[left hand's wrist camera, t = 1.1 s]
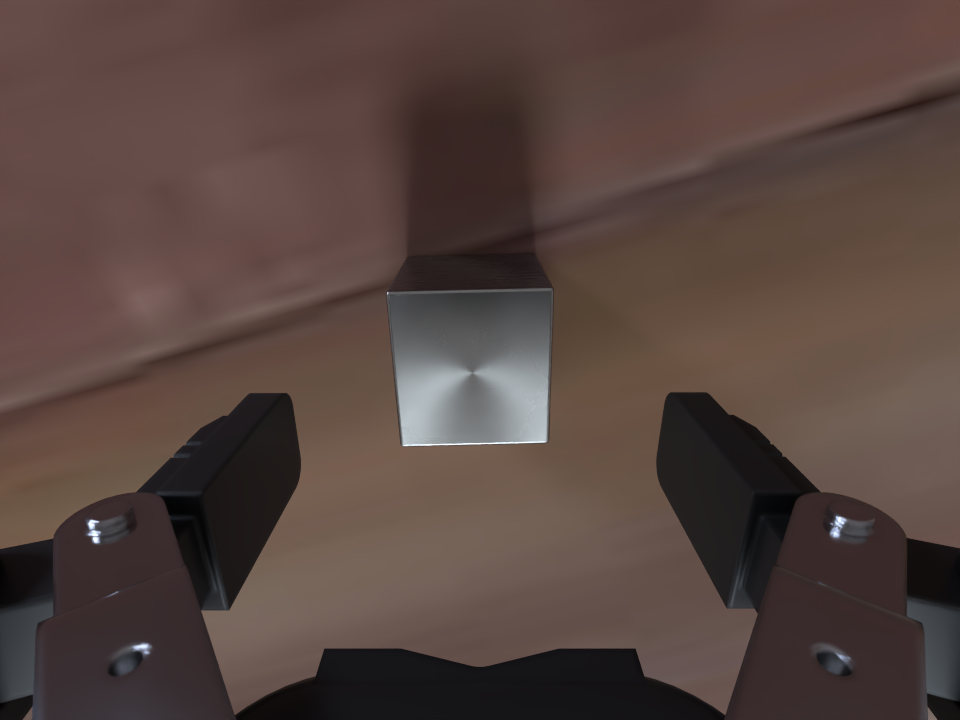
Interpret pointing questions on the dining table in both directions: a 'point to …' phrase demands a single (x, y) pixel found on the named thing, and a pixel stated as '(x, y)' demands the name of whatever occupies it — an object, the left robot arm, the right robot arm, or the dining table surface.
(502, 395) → the block
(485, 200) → the dining table surface
